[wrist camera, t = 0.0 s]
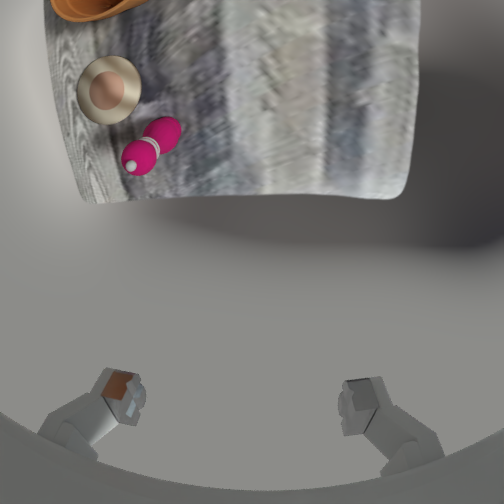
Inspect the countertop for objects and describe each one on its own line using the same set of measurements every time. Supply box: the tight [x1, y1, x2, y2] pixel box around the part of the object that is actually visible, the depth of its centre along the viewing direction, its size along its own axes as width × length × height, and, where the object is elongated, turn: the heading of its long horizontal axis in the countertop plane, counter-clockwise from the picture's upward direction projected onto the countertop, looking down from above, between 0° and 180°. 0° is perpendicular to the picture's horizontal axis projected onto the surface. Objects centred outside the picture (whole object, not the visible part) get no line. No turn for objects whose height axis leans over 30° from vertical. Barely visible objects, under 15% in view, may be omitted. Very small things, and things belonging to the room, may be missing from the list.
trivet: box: [77, 56, 142, 125], centre depth 45 cm, size 16×16×1 cm
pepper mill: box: [121, 117, 181, 176], centre depth 45 cm, size 7×7×20 cm
